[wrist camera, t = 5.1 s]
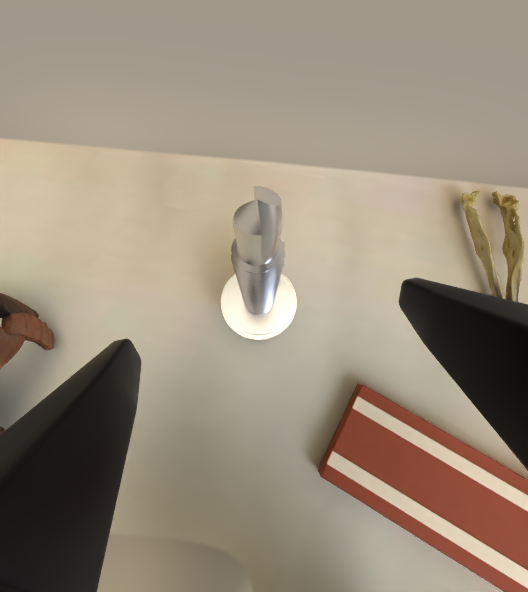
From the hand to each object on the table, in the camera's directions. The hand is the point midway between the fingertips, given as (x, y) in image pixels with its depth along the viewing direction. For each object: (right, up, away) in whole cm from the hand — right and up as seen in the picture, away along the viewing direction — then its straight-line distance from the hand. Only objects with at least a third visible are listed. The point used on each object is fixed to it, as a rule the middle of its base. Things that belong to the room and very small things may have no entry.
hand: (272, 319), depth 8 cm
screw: (-1, 0, +10) cm, 10 cm away
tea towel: (+11, -11, +8) cm, 17 cm away
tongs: (+17, +2, +11) cm, 21 cm away
